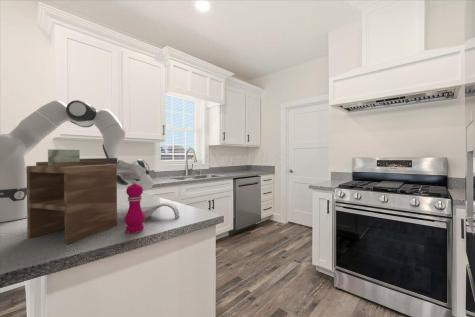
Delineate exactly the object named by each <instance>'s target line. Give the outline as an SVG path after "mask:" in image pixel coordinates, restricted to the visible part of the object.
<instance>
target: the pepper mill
mask: <svg viewBox="0 0 475 317" xmlns="http://www.w3.org/2000/svg"><path fill="white" fill-rule="evenodd" d="M125 191H126V192H125V194H126V195H127V201H128V205H129V207H128V210H127V213H126V215H125V218H124V223H125V224H126V227H125V232H126V233H129V234H134V233H139V232H142V231H143V230H144V224H143V223H144V222H145V217H144V214H143V211H142V210H141V200H142V194H143V192H144V191H143V188H142V186H140V185H138V184H137V181H136V180H134V181H133V182H132V185H131V184H129V185H127V187H126V190H125Z"/></svg>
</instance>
